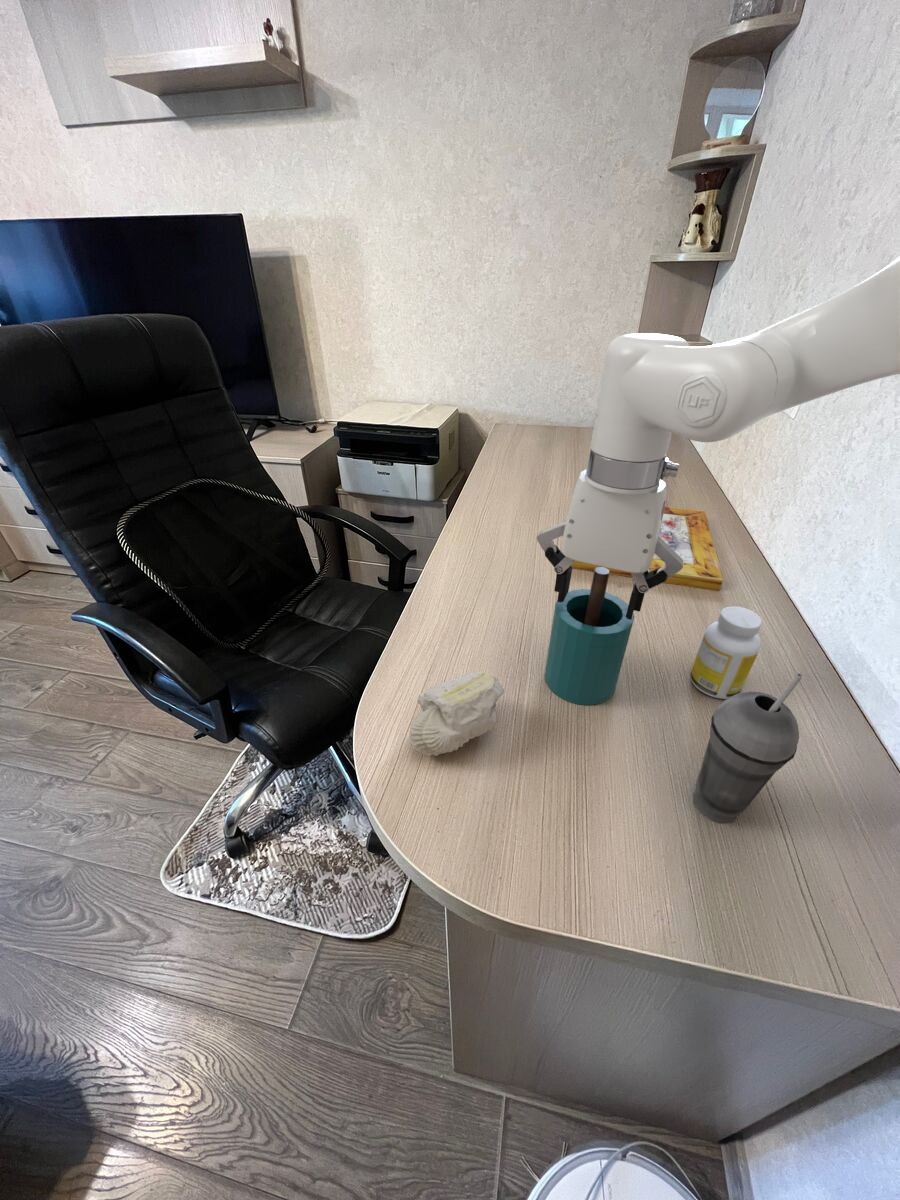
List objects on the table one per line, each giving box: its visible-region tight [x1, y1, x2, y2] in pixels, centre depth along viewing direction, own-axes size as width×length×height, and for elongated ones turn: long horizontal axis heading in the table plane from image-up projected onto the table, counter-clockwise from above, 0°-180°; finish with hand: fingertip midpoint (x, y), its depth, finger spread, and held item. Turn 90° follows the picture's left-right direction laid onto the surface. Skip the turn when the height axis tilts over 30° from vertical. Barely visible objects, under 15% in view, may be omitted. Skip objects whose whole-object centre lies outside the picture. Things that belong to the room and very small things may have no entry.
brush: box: [584, 567, 611, 627], centre depth 64 cm, size 5×5×17 cm
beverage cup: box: [692, 672, 804, 825], centre depth 48 cm, size 7×7×20 cm
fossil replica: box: [409, 671, 505, 757], centre depth 59 cm, size 12×8×10 cm
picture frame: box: [571, 506, 724, 592], centre depth 103 cm, size 27×2×30 cm
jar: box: [544, 588, 635, 706], centre depth 66 cm, size 10×10×12 cm
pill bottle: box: [689, 605, 763, 700], centre depth 66 cm, size 6×6×12 cm
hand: (595, 604), depth 62 cm, fingers open, 7 cm apart
